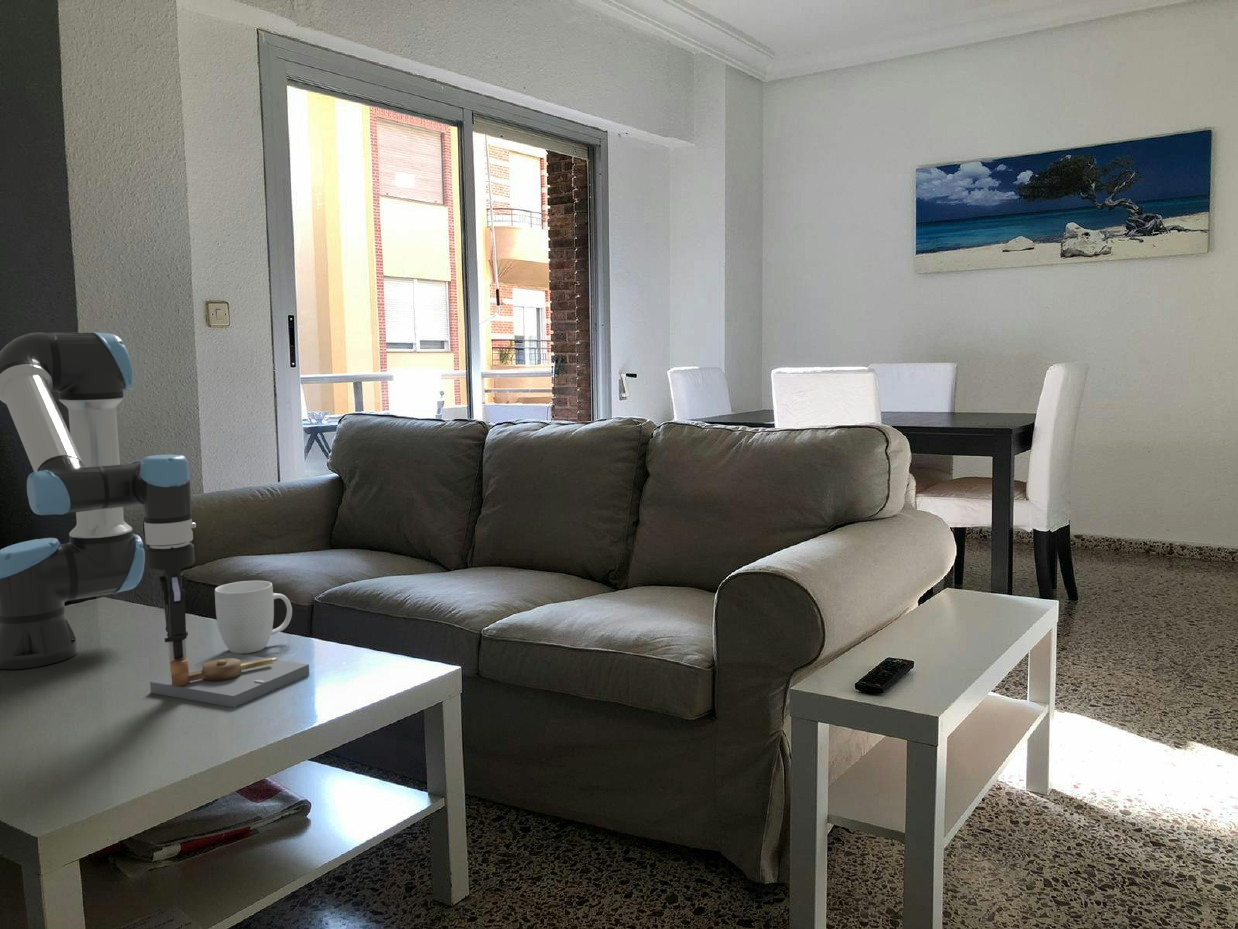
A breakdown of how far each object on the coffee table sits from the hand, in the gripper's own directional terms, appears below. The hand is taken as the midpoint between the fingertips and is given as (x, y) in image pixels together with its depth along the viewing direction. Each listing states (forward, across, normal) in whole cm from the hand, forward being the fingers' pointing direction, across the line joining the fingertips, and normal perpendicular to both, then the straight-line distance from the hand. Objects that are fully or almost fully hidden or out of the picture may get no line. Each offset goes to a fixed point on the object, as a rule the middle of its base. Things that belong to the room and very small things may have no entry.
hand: (179, 674), depth 170 cm
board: (+3, 0, -9) cm, 9 cm away
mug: (+4, +21, -16) cm, 27 cm away
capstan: (+1, -1, -7) cm, 7 cm away
